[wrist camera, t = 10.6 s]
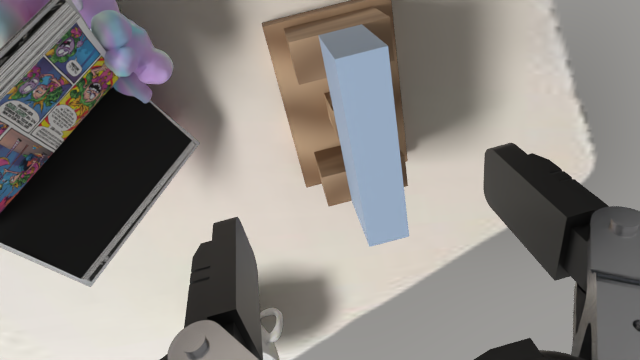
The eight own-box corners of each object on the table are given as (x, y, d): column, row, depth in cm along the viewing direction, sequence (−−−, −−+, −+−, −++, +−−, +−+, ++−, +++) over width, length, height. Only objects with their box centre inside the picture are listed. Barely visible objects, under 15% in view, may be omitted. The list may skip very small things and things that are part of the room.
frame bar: (318, 35, 27) (334, 59, 22) (361, 24, 27) (388, 45, 22) (351, 200, 35) (369, 246, 30) (385, 191, 35) (409, 236, 30)
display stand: (261, 23, 32) (264, 40, 27) (384, -9, 32) (410, 3, 27) (304, 179, 40) (312, 215, 35) (402, 153, 40) (424, 186, 35)
